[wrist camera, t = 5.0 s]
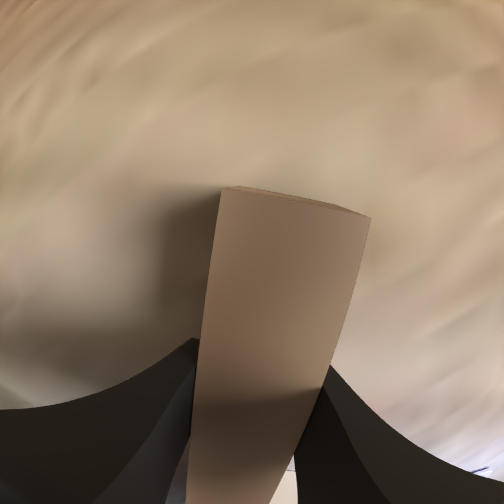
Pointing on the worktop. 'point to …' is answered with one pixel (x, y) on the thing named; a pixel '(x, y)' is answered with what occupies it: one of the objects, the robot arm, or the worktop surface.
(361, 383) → the worktop surface
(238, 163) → the worktop surface
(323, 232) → the tan long block
